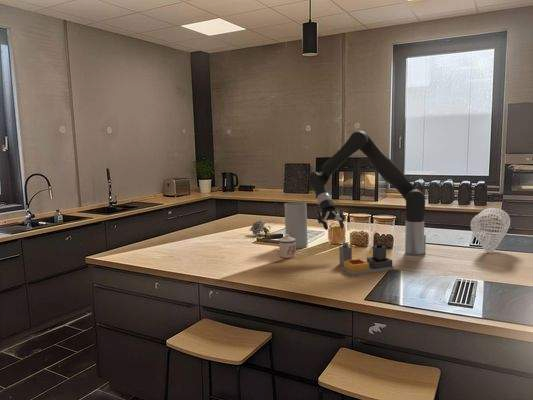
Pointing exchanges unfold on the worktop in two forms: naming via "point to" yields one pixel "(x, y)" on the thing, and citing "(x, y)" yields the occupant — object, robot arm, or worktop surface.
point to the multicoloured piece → (369, 262)
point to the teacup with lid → (287, 247)
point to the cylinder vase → (296, 223)
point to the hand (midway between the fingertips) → (334, 228)
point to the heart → (499, 238)
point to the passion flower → (259, 228)
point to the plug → (345, 253)
